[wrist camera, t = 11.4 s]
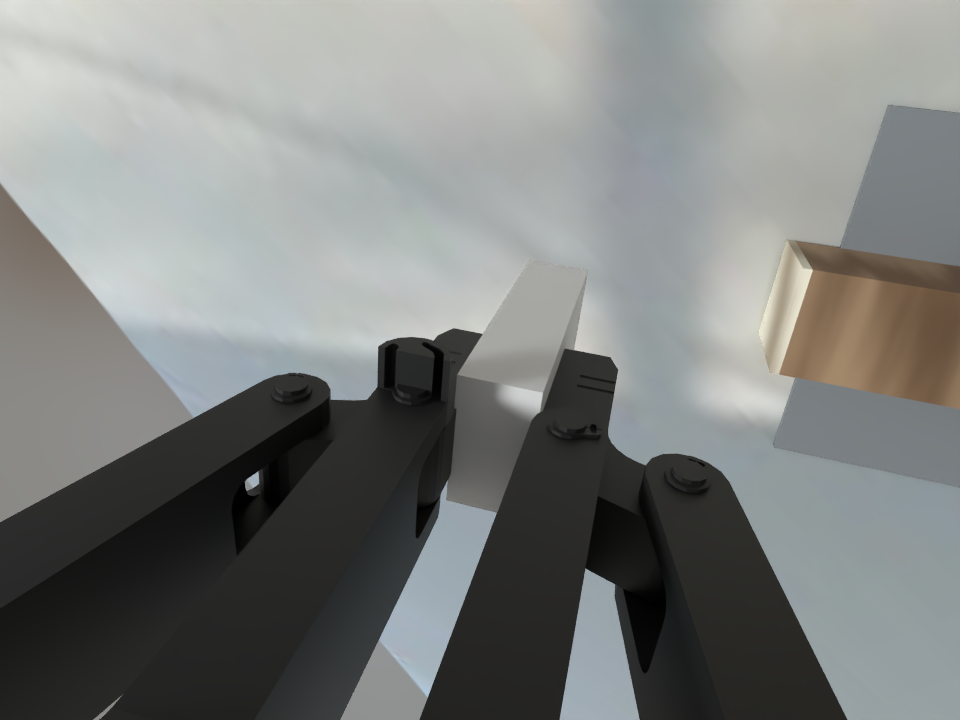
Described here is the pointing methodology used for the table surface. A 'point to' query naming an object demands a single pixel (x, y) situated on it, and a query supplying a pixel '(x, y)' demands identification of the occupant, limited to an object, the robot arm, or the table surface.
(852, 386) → the walnut block
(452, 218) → the table surface
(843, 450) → the mat
